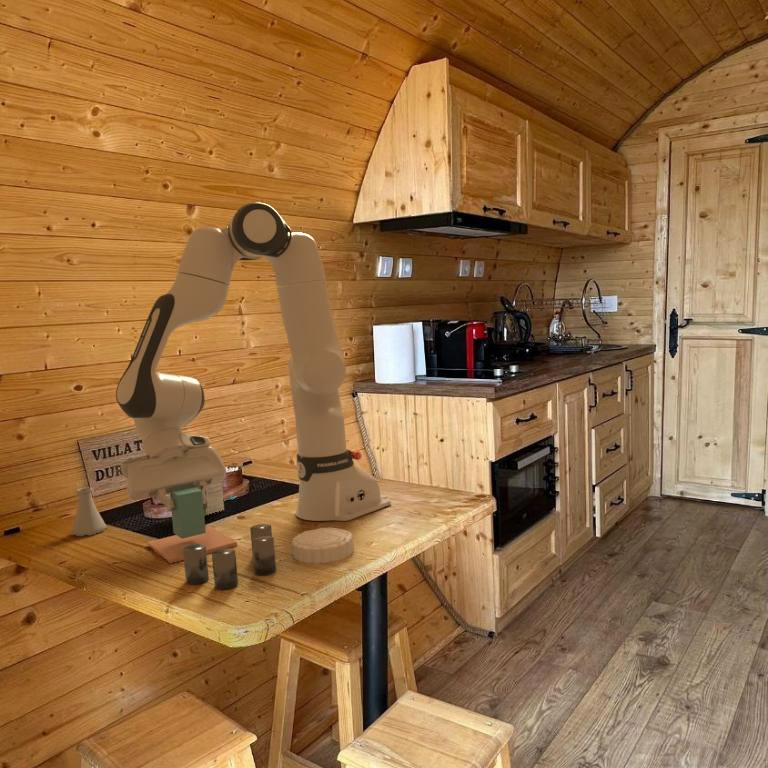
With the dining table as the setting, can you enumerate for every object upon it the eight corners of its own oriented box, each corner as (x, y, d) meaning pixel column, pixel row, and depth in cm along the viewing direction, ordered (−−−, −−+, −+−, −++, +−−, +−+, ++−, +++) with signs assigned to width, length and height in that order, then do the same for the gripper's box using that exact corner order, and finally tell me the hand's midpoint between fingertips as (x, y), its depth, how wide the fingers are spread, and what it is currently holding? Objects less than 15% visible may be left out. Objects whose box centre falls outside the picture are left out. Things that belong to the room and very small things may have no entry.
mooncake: (280, 555, 137) (278, 538, 137) (327, 538, 146) (325, 521, 145) (319, 569, 129) (318, 550, 128) (366, 550, 137) (365, 532, 137)
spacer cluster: (267, 551, 139) (265, 522, 138) (297, 568, 129) (294, 537, 129) (179, 577, 129) (175, 545, 128) (203, 597, 119) (200, 563, 118)
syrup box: (191, 513, 169) (185, 454, 167) (212, 506, 173) (207, 449, 172) (204, 516, 165) (198, 456, 164) (225, 510, 170) (220, 451, 168)
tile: (211, 529, 155) (210, 526, 155) (237, 545, 144) (236, 541, 144) (147, 545, 147) (147, 542, 147) (169, 563, 136) (169, 559, 136)
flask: (94, 537, 155) (89, 493, 154) (64, 537, 156) (59, 493, 155) (112, 526, 162) (108, 484, 161) (84, 526, 164) (79, 485, 162)
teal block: (196, 527, 148) (193, 485, 147) (205, 533, 144) (201, 490, 143) (173, 533, 146) (169, 490, 145) (181, 538, 142) (178, 495, 141)
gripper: (119, 451, 143) (139, 508, 136) (215, 436, 154) (237, 487, 148) (116, 469, 147) (134, 525, 140) (209, 453, 158) (230, 503, 152)
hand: (188, 505), depth 144 cm, fingers closed on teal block, 5 cm apart
